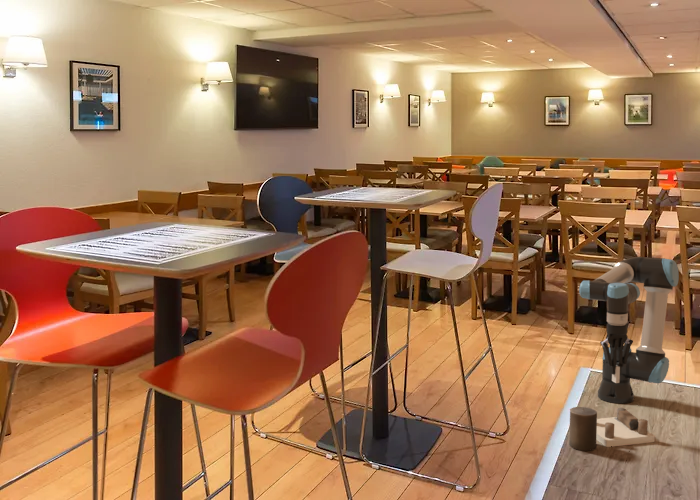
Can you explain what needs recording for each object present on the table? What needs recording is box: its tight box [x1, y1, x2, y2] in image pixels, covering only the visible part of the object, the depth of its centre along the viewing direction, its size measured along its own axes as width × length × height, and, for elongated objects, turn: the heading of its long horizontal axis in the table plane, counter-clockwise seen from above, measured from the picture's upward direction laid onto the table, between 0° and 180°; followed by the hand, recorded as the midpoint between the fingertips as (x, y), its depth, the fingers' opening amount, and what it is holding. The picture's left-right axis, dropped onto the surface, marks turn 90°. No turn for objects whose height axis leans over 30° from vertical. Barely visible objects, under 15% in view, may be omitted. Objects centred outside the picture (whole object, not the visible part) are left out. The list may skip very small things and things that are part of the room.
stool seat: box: [596, 416, 656, 448], centre depth 257 cm, size 20×20×8 cm
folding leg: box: [616, 407, 639, 429], centre depth 260 cm, size 13×4×4 cm, turn 3°
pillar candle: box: [568, 406, 598, 452], centre depth 247 cm, size 10×10×15 cm
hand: (615, 381), depth 257 cm, fingers closed
